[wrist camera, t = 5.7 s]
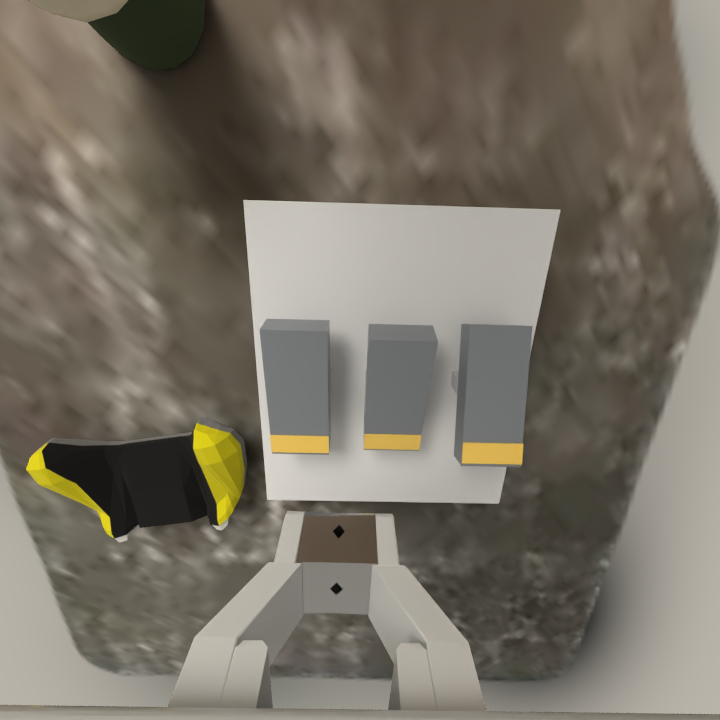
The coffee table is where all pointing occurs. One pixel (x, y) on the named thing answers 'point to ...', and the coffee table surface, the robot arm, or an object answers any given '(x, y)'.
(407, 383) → the block
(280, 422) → the block
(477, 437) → the block
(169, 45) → the character mug
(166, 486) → the gaming controller
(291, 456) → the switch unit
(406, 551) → the coffee table surface
